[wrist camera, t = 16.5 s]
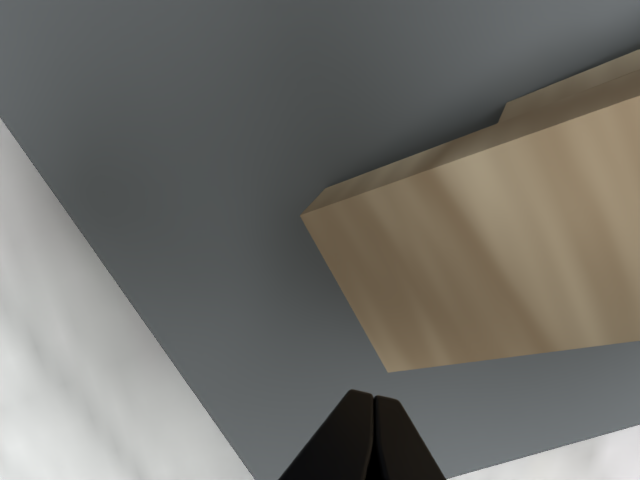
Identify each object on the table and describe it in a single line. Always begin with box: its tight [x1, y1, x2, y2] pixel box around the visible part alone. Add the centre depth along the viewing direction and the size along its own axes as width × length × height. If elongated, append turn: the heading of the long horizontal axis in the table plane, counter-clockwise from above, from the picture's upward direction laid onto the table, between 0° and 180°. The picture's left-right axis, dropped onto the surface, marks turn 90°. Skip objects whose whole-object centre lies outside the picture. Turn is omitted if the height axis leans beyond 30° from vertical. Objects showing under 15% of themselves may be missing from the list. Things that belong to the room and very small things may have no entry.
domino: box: [300, 70, 640, 373], centre depth 12 cm, size 2×5×8 cm
